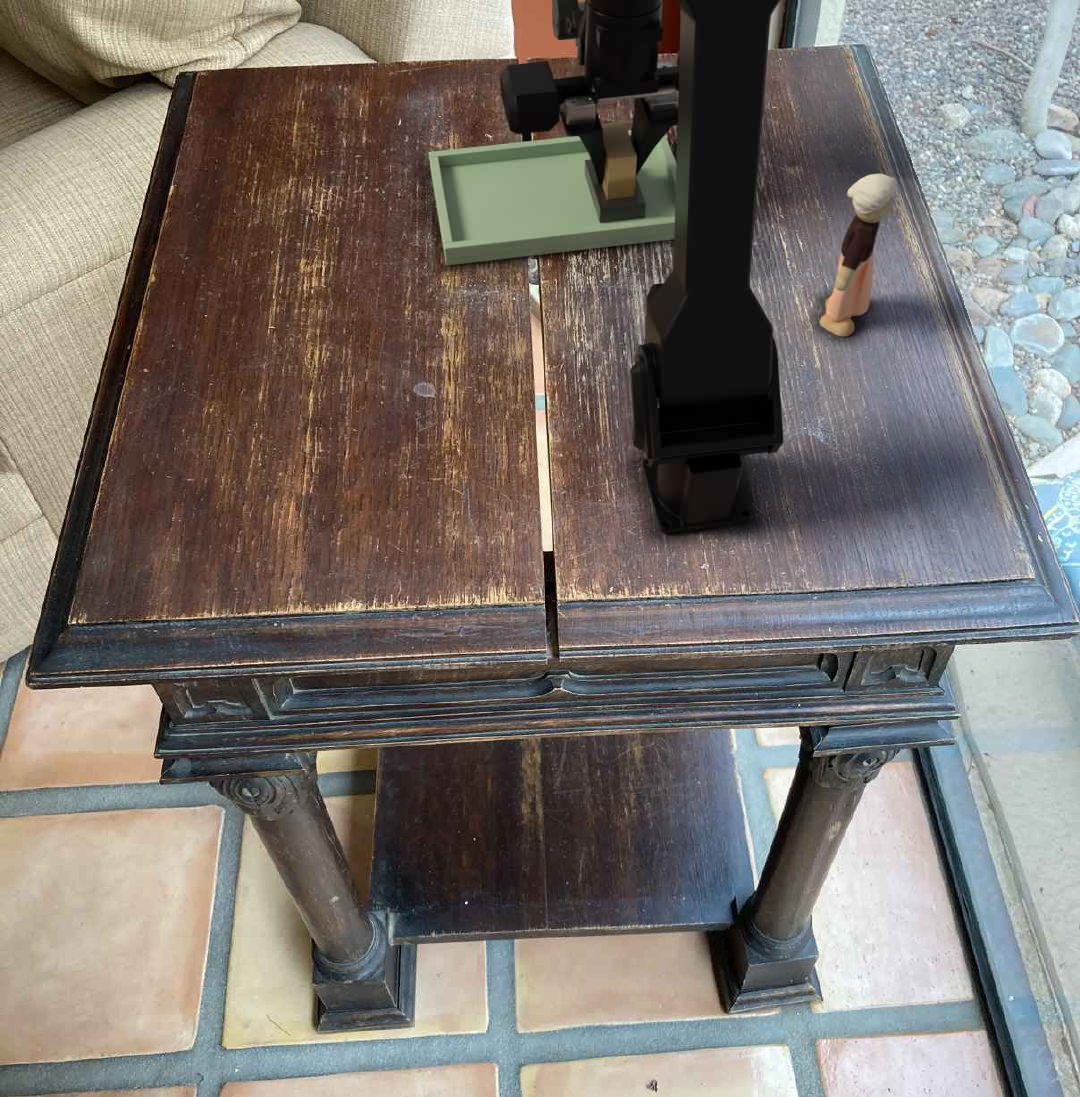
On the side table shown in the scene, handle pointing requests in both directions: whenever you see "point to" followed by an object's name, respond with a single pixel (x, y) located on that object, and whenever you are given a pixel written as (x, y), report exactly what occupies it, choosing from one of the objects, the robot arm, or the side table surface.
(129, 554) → the side table surface
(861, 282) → the grandmother figurine
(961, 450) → the side table surface
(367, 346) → the side table surface
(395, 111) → the side table surface
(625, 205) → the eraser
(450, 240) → the tray
